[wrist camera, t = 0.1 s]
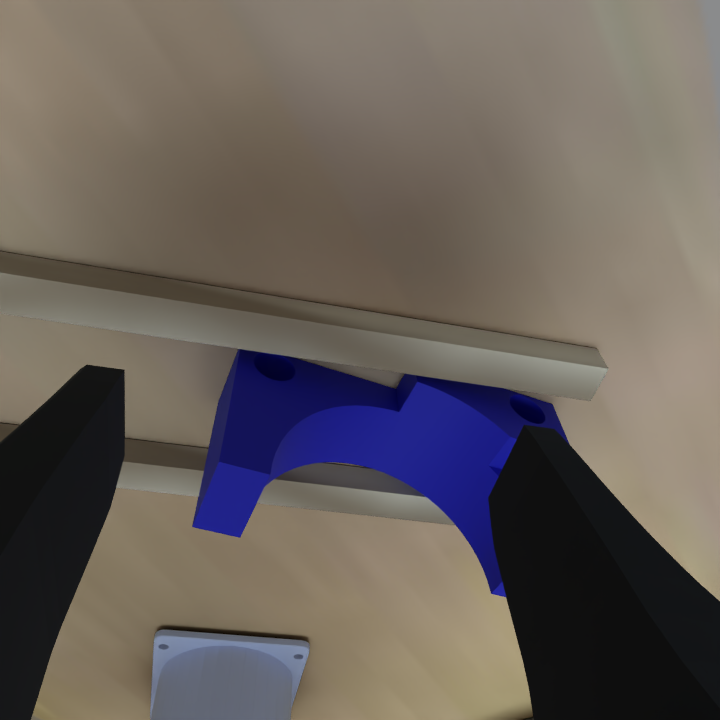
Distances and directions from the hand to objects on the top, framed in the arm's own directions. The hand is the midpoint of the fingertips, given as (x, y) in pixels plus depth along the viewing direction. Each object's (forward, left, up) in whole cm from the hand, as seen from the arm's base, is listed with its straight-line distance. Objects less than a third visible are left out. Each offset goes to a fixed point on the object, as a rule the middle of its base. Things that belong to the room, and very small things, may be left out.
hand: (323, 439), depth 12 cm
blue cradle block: (-7, -4, -10) cm, 13 cm away
